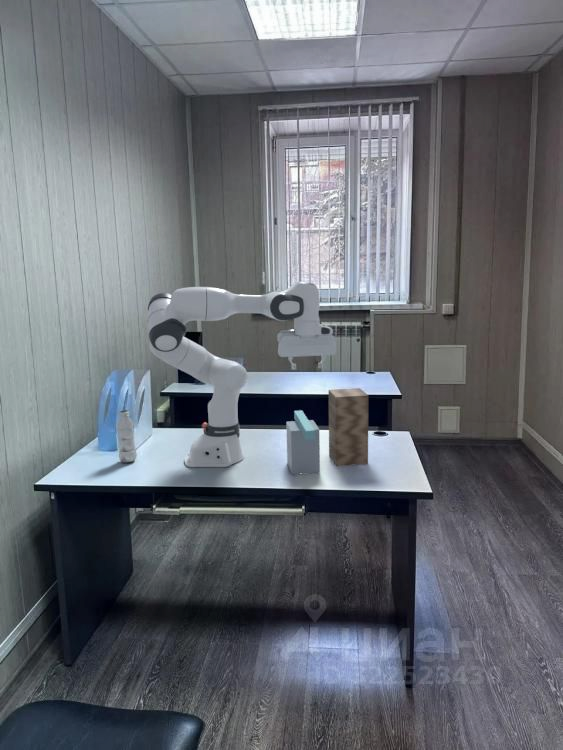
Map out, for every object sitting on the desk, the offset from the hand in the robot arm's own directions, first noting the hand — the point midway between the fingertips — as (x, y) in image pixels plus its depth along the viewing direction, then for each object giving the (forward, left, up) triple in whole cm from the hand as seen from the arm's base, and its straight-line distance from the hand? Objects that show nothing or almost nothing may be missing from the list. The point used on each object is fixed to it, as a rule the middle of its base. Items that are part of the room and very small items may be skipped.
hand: (307, 368), depth 190 cm
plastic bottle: (-67, +20, -37) cm, 79 cm away
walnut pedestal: (+16, +6, -37) cm, 41 cm away
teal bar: (-2, -3, -21) cm, 21 cm away
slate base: (-2, +1, -37) cm, 37 cm away
